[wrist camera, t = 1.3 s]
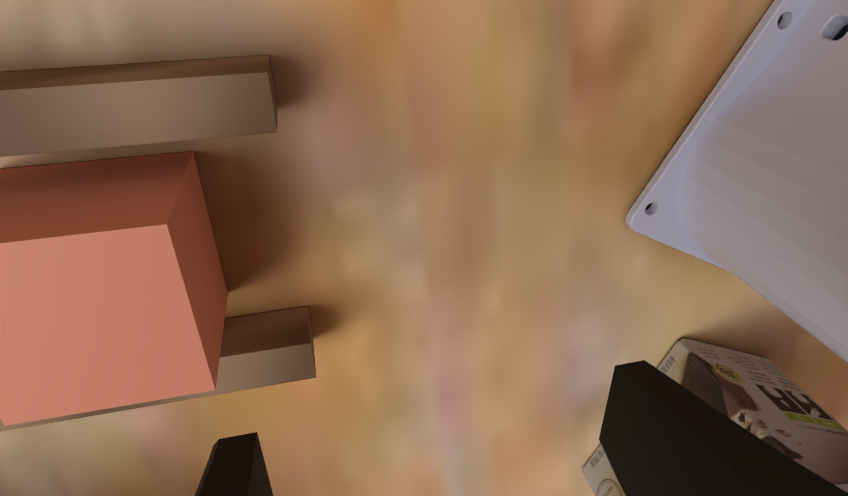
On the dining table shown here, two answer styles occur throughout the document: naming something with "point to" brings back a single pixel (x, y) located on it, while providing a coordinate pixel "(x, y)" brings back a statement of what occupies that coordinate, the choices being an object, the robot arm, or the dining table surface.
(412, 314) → the dining table surface
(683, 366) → the coffee box
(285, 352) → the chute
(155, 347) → the block
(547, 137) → the dining table surface
